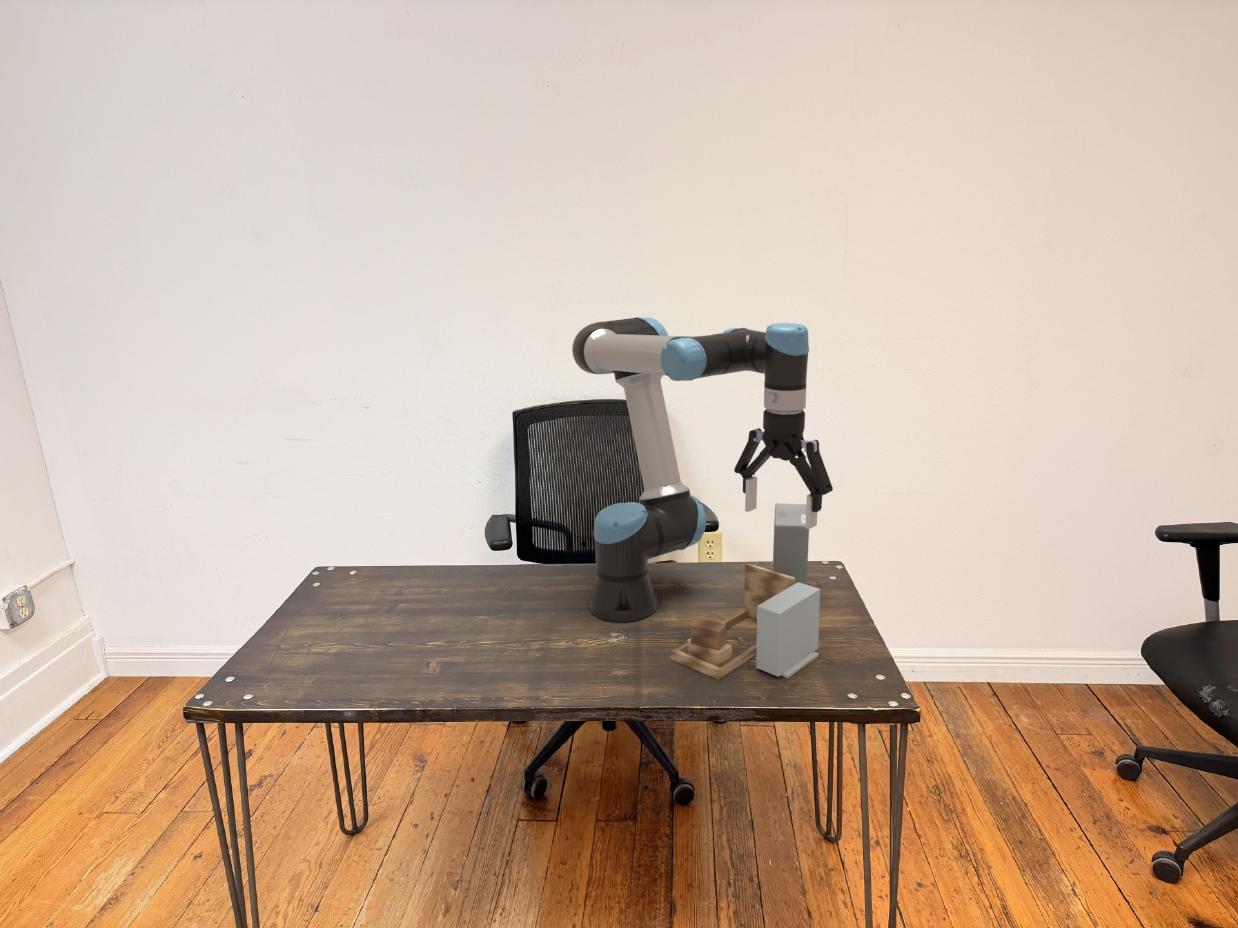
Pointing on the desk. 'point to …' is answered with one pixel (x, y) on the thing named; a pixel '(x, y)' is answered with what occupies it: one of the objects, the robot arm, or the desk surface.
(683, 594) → the desk surface
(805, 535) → the hard drive box
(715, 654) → the offcut lower
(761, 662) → the grey rectangular block
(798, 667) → the mat
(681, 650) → the rack
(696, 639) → the offcut upper
